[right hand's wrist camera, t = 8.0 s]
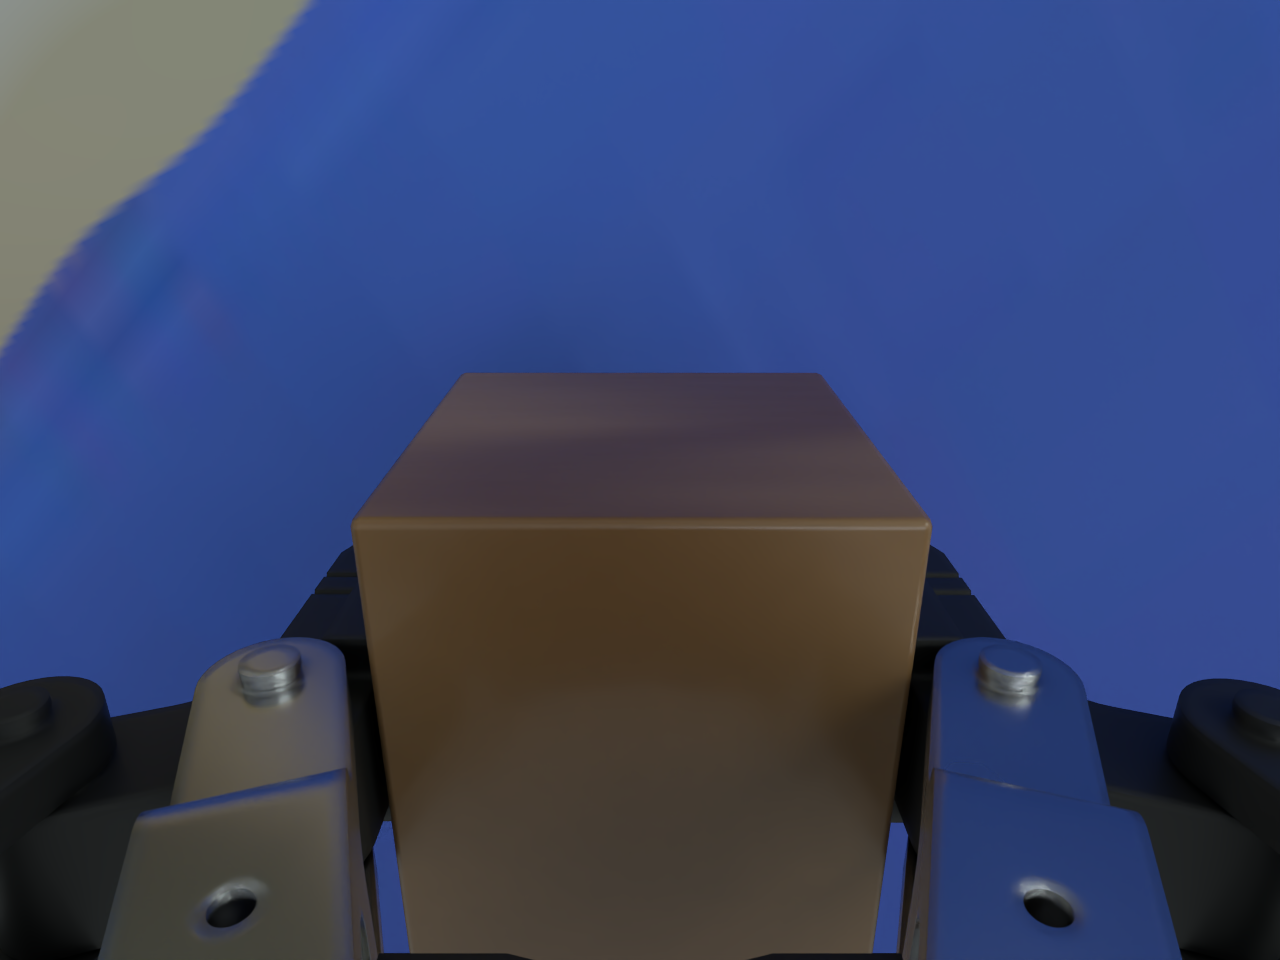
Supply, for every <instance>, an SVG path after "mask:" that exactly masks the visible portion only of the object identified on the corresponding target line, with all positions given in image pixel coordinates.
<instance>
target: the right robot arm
mask: <svg viewBox="0 0 1280 960" xmlns="http://www.w3.org/2000/svg"><path fill="white" fill-rule="evenodd" d="M383 821H391V813H390V806H389V799H388V792H387V785H386V777H385V770H384V763H383V756H382V749H381V742H380V734H379V727H378V720H377V713H376V706H375V698H374V691H373V684H372V677H371V670H370V662H369V655H368V648H367V641H366V634H365V626H364V619H363V612H362V605H361V598H360V590H359V583H358V576H357V569H356V562H355V554H354V547H353V546H351V547H350V548H348V549H346V550H345V551H343V552H342V553H341V554H340V555H339V557H338V558H337V560H336V561H335V562H334V564H333V565H332V566H331V568H330V569H329V571H328V572H327V577H324V578H323V579H322V580H321V582H320V583H319V585H318V586H317V587H316V589H315V594H311V596H310V597H309V599H308V600H307V601H306V603H305V604H304V606H303V607H302V608H301V610H300V611H299V613H298V614H297V615H296V617H295V618H294V620H293V621H292V622H291V624H290V625H289V627H288V628H287V629H286V631H285V632H284V634H283V635H282V636H281V638H280V639H273V640H269V641H264V642H260V643H257V644H253V645H250V646H248V647H245V648H242V649H240V650H237V651H235V652H233V653H231V654H229V655H227V656H226V657H224V658H222V659H221V660H219V661H218V662H216V663H215V664H214V665H212V666H211V667H210V668H209V669H208V670H207V671H206V672H205V673H204V674H203V675H202V677H201V678H200V679H199V681H198V683H197V686H196V688H195V692H194V697H193V701H191V702H187V703H183V704H179V705H174V706H169V707H164V708H159V709H153V710H148V711H143V712H138V713H132V714H127V715H122V716H117V717H110V714H109V710H108V706H107V703H106V699H105V696H104V693H103V691H102V688H101V687H100V686H98V685H97V684H96V683H94V682H92V681H90V680H87V679H84V678H79V677H70V676H58V677H47V678H40V679H34V680H29V681H25V682H21V683H17V684H13V685H10V686H7V687H4V688H1V689H0V960H532V959H528V958H524V957H520V956H516V955H512V954H508V953H384V951H383V939H382V926H381V914H380V902H379V890H378V878H377V867H376V860H375V854H374V847H373V846H374V844H375V841H376V839H377V836H378V833H379V831H380V828H381V825H382V823H383ZM891 823H904V826H905V828H906V831H907V834H908V841H907V847H906V854H905V860H904V867H903V878H902V890H901V903H900V915H899V927H898V939H897V951H896V953H772V954H768V955H764V956H760V957H756V958H752V959H748V960H1280V690H1279V689H1276V688H1273V687H1269V686H1266V685H1262V684H1258V683H1254V682H1248V681H1242V680H1234V679H1206V680H1201V681H1197V682H1193V683H1191V684H1189V685H1188V686H1186V687H1185V688H1184V689H1183V690H1182V691H1181V694H1180V696H1179V699H1178V703H1177V706H1176V710H1175V713H1174V717H1173V718H1169V717H1164V716H1158V715H1153V714H1148V713H1143V712H1137V711H1132V710H1127V709H1122V708H1116V707H1111V706H1107V705H1103V704H1098V703H1095V702H1092V701H1088V700H1087V697H1086V692H1085V688H1084V685H1083V683H1082V681H1081V679H1080V678H1079V676H1078V675H1077V674H1076V673H1075V672H1074V671H1073V670H1072V669H1071V668H1070V667H1069V666H1068V665H1066V664H1065V663H1064V662H1062V661H1061V660H1059V659H1058V658H1056V657H1054V656H1053V655H1051V654H1049V653H1047V652H1045V651H1043V650H1040V649H1038V648H1035V647H1032V646H1030V645H1027V644H1023V643H1020V642H1016V641H1011V640H1007V639H1006V638H1005V637H1004V636H1003V634H1002V633H1001V632H1000V630H999V629H998V627H997V626H996V625H995V623H994V622H993V620H992V619H991V618H990V616H989V615H988V614H987V612H986V611H985V609H984V608H983V607H982V605H981V604H980V603H979V601H978V600H977V598H976V597H975V596H974V595H971V590H970V589H969V587H968V586H967V585H966V583H965V582H964V580H963V579H962V578H959V574H958V572H957V571H956V569H955V568H954V567H953V565H952V564H951V563H950V561H949V560H948V558H947V557H946V556H945V554H944V553H942V552H941V551H939V550H938V549H936V548H934V547H933V546H931V545H930V547H929V554H928V562H927V569H926V576H925V583H924V590H923V597H922V604H921V611H920V618H919V625H918V633H917V640H916V647H915V654H914V661H913V668H912V675H911V682H910V689H909V696H908V704H907V711H906V718H905V725H904V732H903V739H902V746H901V753H900V760H899V768H898V775H897V782H896V789H895V796H894V803H893V810H892V817H891Z"/></svg>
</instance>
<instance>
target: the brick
mask: <svg viewBox="0 0 1280 960" xmlns="http://www.w3.org/2000/svg"><path fill="white" fill-rule="evenodd" d="M351 533H352V540H353V547H354V554H355V562H356V569H357V576H358V583H359V590H360V598H361V605H362V612H363V619H364V626H365V634H366V641H367V648H368V655H369V662H370V670H371V677H372V684H373V691H374V698H375V706H376V713H377V720H378V727H379V734H380V742H381V749H382V756H383V763H384V770H385V777H386V785H387V792H388V799H389V806H390V813H391V821H392V828H393V835H394V842H395V849H396V857H397V864H398V871H399V878H400V885H401V893H402V900H403V907H404V914H405V921H406V929H407V936H408V943H409V950H410V953H508V954H512V955H516V956H520V957H524V958H528V959H532V960H748V959H752V958H756V957H760V956H764V955H768V954H772V953H872V952H873V945H874V938H875V931H876V924H877V917H878V910H879V902H880V895H881V888H882V881H883V874H884V867H885V860H886V853H887V846H888V839H889V831H890V824H891V817H892V810H893V803H894V796H895V789H896V782H897V775H898V768H899V760H900V753H901V746H902V739H903V732H904V725H905V718H906V711H907V704H908V696H909V689H910V682H911V675H912V668H913V661H914V654H915V647H916V640H917V633H918V625H919V618H920V611H921V604H922V597H923V590H924V583H925V576H926V569H927V562H928V554H929V547H930V540H931V533H932V524H931V520H930V518H929V517H928V516H927V514H926V513H925V512H924V510H923V509H922V508H921V507H920V505H919V504H918V503H917V501H916V500H915V499H914V497H913V496H912V495H911V493H910V492H909V491H908V489H907V488H906V487H905V485H904V484H903V483H902V481H901V480H900V479H899V477H898V476H897V475H896V473H895V472H894V471H893V469H892V468H891V467H890V465H889V464H888V463H887V462H886V460H885V459H884V458H883V456H882V455H881V454H880V452H879V451H878V450H877V448H876V447H875V446H874V444H873V443H872V442H871V440H870V439H869V438H868V436H867V435H866V434H865V432H864V431H863V430H862V428H861V427H860V426H859V424H858V423H857V422H856V420H855V419H854V418H853V416H852V415H851V414H850V413H849V411H848V410H847V409H846V407H845V406H844V405H843V403H842V402H841V401H840V399H839V398H838V397H837V395H836V394H835V393H834V391H833V390H832V389H831V387H830V386H829V385H828V383H827V382H826V381H825V379H824V378H823V377H822V375H820V374H817V373H465V374H462V375H461V376H460V377H459V379H458V380H457V381H456V383H455V384H454V385H453V387H452V388H451V389H450V391H449V392H448V393H447V395H446V396H445V397H444V399H443V400H442V401H441V402H440V404H439V405H438V406H437V408H436V409H435V410H434V412H433V413H432V414H431V416H430V417H429V418H428V420H427V421H426V422H425V424H424V425H423V426H422V428H421V429H420V430H419V432H418V433H417V434H416V436H415V437H414V438H413V440H412V441H411V442H410V444H409V445H408V446H407V448H406V449H405V450H404V452H403V453H402V454H401V456H400V457H399V458H398V460H397V461H396V462H395V464H394V465H393V466H392V468H391V469H390V470H389V472H388V473H387V474H386V476H385V477H384V478H383V480H382V481H381V482H380V484H379V485H378V486H377V488H376V489H375V490H374V492H373V493H372V494H371V496H370V497H369V498H368V500H367V501H366V502H365V504H364V505H363V506H362V508H361V509H360V510H359V512H358V513H357V514H356V516H355V517H354V518H353V520H352V523H351Z"/></svg>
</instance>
